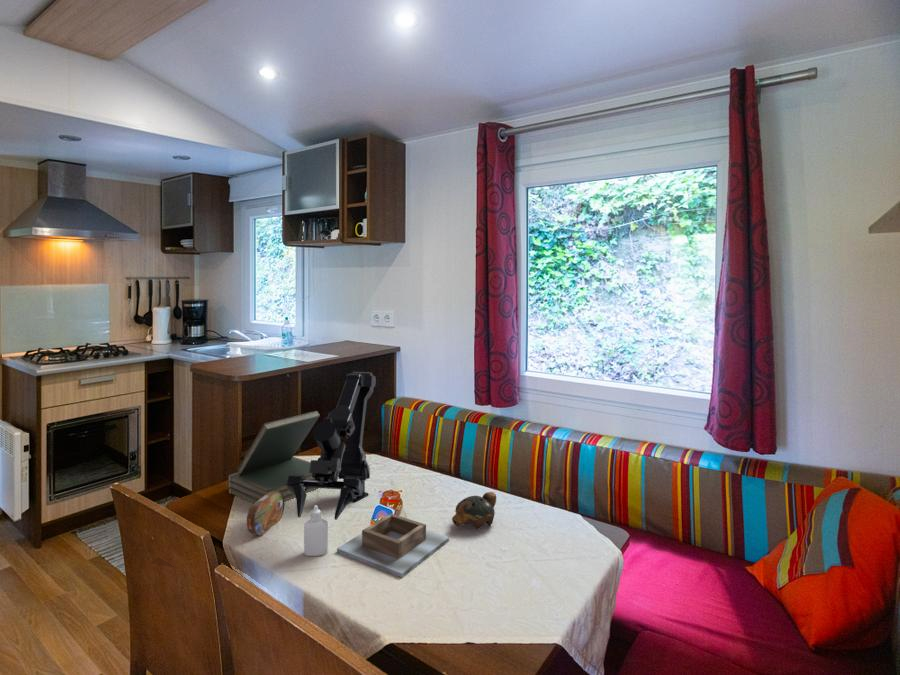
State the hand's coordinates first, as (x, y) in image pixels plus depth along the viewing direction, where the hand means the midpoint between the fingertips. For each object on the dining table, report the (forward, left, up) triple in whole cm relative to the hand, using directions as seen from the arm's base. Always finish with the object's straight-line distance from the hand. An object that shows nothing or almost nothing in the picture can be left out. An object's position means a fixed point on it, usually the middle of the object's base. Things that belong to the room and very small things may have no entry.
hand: (317, 518), depth 127 cm
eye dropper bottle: (+1, 0, -9) cm, 9 cm away
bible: (-20, -38, -9) cm, 44 cm away
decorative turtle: (-34, +25, -9) cm, 44 cm away
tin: (-1, -21, -9) cm, 23 cm away
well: (-12, +14, -8) cm, 21 cm away
